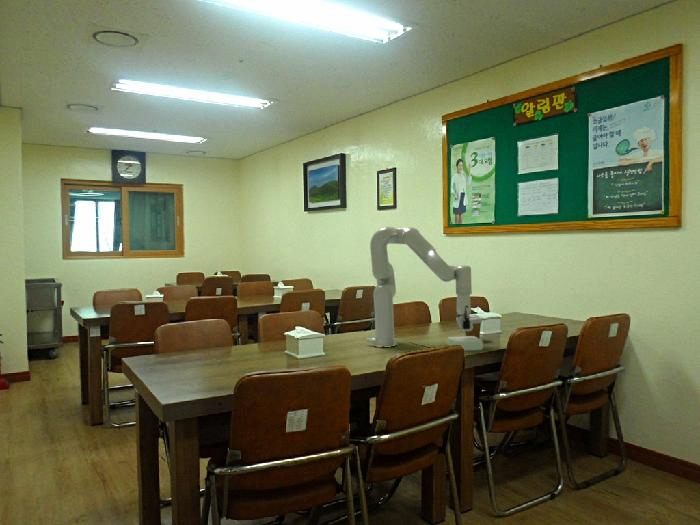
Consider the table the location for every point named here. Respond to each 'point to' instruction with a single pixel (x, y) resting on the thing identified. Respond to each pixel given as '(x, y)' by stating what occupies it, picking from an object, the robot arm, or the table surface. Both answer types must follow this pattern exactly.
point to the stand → (466, 342)
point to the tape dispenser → (460, 322)
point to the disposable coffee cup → (475, 327)
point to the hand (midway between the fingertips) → (464, 327)
